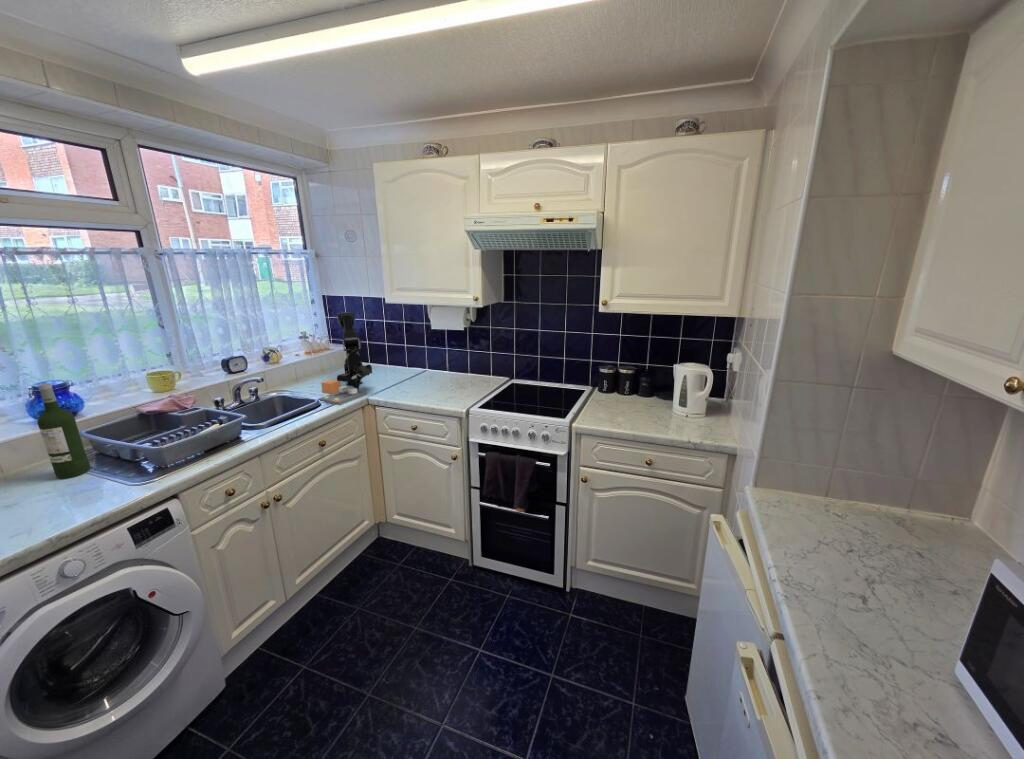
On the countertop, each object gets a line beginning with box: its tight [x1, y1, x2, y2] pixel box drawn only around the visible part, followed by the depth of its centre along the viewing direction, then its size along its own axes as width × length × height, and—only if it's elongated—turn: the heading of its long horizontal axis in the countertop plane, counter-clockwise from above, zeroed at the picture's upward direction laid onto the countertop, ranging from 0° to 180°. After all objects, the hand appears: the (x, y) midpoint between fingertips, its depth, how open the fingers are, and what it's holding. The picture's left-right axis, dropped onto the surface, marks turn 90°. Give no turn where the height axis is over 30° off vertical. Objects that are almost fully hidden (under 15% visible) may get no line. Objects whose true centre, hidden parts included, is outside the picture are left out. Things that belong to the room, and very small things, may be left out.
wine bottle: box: [36, 383, 91, 480], centre depth 130 cm, size 8×8×30 cm
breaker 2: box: [348, 387, 358, 394], centre depth 207 cm, size 3×3×2 cm
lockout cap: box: [320, 379, 342, 395], centre depth 216 cm, size 6×6×6 cm
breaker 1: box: [339, 385, 349, 393], centre depth 210 cm, size 3×3×2 cm
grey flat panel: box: [317, 390, 367, 406], centre depth 206 cm, size 17×14×2 cm
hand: (357, 390), depth 209 cm, fingers closed
